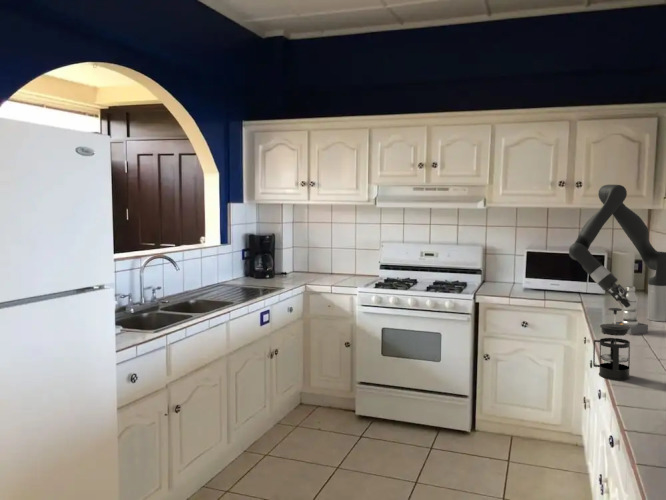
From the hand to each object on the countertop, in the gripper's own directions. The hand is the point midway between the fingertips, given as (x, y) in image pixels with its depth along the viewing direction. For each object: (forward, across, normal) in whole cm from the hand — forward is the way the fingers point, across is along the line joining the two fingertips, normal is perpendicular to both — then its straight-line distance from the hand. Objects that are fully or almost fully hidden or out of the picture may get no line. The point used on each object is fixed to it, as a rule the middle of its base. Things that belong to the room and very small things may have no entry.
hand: (631, 305), depth 250 cm
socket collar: (+8, 0, +9) cm, 12 cm away
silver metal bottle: (+8, 0, +9) cm, 12 cm away
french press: (+16, -73, +2) cm, 75 cm away
